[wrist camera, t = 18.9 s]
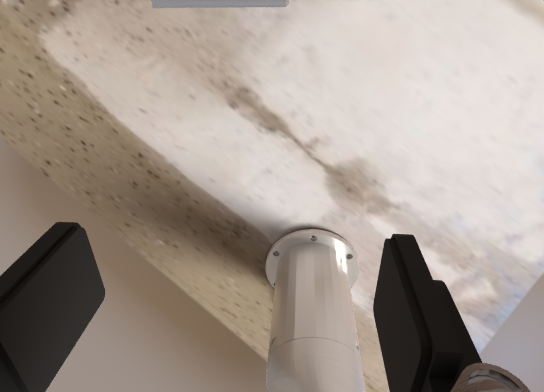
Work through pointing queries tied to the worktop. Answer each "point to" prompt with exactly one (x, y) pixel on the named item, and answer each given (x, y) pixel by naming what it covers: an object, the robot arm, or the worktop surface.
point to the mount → (217, 3)
